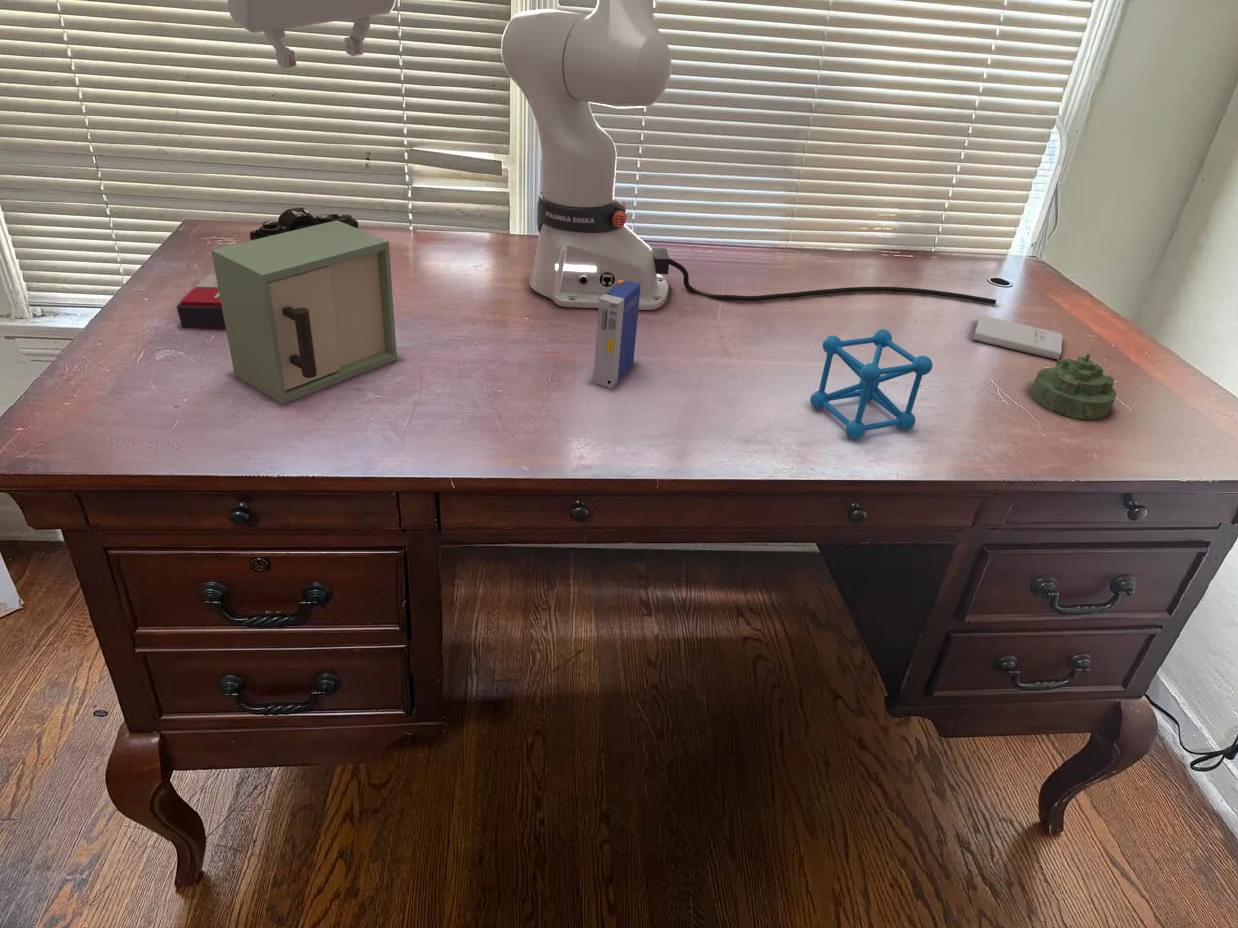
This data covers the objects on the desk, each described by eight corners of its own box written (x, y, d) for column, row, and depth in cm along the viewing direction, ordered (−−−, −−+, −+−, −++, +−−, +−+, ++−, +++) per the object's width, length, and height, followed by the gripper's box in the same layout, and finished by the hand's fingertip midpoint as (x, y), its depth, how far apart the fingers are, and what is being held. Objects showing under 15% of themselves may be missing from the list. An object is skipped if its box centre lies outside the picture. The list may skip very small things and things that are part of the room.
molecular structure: (851, 444, 104) (870, 370, 98) (805, 404, 111) (820, 333, 106) (916, 431, 108) (939, 359, 102) (867, 394, 115) (886, 325, 110)
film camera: (325, 245, 145) (318, 186, 140) (375, 265, 140) (370, 204, 134) (230, 272, 133) (218, 208, 127) (280, 295, 127) (270, 229, 122)
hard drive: (977, 323, 139) (1059, 341, 135) (972, 341, 133) (1058, 361, 129) (980, 313, 138) (1063, 332, 134) (975, 331, 132) (1062, 351, 128)
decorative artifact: (1089, 387, 122) (1020, 381, 122) (1109, 342, 119) (1037, 335, 118) (1121, 422, 114) (1046, 416, 114) (1143, 375, 110) (1066, 368, 110)
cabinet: (397, 360, 113) (388, 241, 104) (282, 404, 101) (262, 275, 93) (349, 335, 118) (337, 220, 109) (234, 375, 106) (210, 249, 98)
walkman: (614, 360, 118) (621, 276, 111) (633, 364, 117) (641, 280, 111) (591, 383, 112) (597, 296, 105) (611, 388, 111) (618, 301, 104)
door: (360, 380, 105) (350, 275, 98) (304, 402, 100) (289, 293, 92) (338, 368, 107) (326, 264, 100) (282, 389, 102) (265, 281, 95)
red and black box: (205, 271, 123) (311, 273, 124) (212, 299, 126) (316, 301, 126) (173, 301, 114) (288, 303, 114) (181, 331, 116) (294, 333, 117)
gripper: (370, -82, 103) (376, 40, 113) (208, -73, 91) (230, 64, 100) (404, -68, 101) (407, 56, 110) (242, -56, 88) (261, 82, 97)
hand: (321, 60), depth 105 cm, fingers open, 8 cm apart
